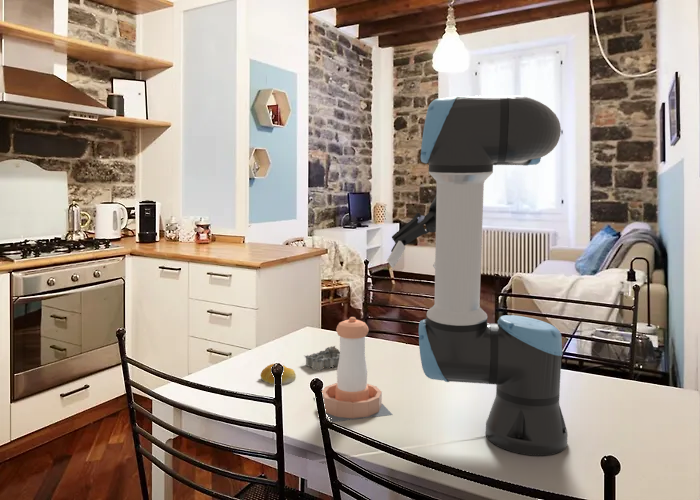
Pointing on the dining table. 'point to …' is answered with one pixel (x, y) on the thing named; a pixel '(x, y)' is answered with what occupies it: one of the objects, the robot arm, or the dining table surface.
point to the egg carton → (323, 358)
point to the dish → (352, 403)
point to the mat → (382, 412)
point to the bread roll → (286, 377)
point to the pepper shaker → (352, 361)
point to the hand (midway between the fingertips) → (412, 266)
